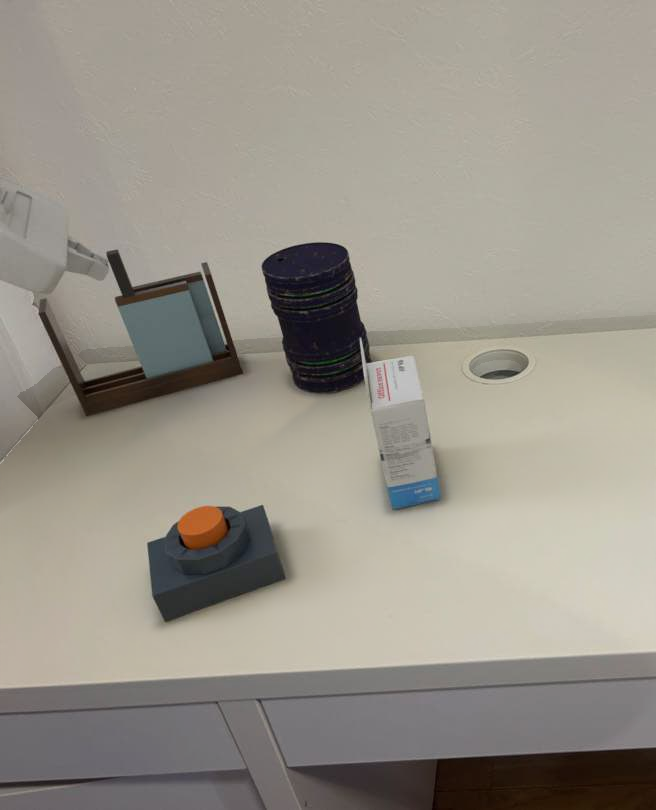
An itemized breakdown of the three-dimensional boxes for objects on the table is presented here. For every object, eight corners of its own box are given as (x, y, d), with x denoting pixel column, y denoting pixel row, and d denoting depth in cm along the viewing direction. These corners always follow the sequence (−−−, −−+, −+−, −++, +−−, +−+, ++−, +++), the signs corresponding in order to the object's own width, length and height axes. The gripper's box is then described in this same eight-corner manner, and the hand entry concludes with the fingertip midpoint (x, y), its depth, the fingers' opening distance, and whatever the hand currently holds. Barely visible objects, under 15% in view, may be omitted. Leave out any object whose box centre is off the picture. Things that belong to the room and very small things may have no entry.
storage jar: (382, 350, 101) (359, 240, 93) (362, 393, 93) (335, 276, 85) (306, 352, 102) (277, 243, 94) (280, 394, 94) (246, 279, 86)
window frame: (86, 416, 93) (37, 313, 86) (86, 399, 96) (39, 299, 89) (243, 373, 99) (211, 273, 91) (238, 359, 102) (207, 261, 94)
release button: (186, 555, 66) (179, 540, 65) (181, 529, 68) (175, 514, 67) (230, 540, 67) (224, 525, 66) (225, 515, 70) (219, 500, 69)
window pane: (148, 384, 95) (97, 257, 86) (147, 379, 96) (97, 253, 87) (215, 366, 98) (172, 241, 88) (213, 361, 98) (171, 237, 89)
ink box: (443, 500, 76) (420, 370, 68) (391, 511, 76) (362, 381, 67) (431, 449, 83) (409, 325, 75) (383, 459, 83) (356, 335, 74)
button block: (165, 622, 66) (144, 580, 63) (159, 568, 71) (139, 527, 68) (286, 578, 69) (271, 536, 66) (271, 530, 75) (257, 489, 72)
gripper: (-40, 200, 87) (91, 262, 96) (-67, 265, 72) (92, 331, 80) (-13, 152, 86) (117, 218, 95) (-34, 206, 71) (124, 280, 79)
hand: (106, 270), depth 87 cm, fingers closed, pressing on window pane
